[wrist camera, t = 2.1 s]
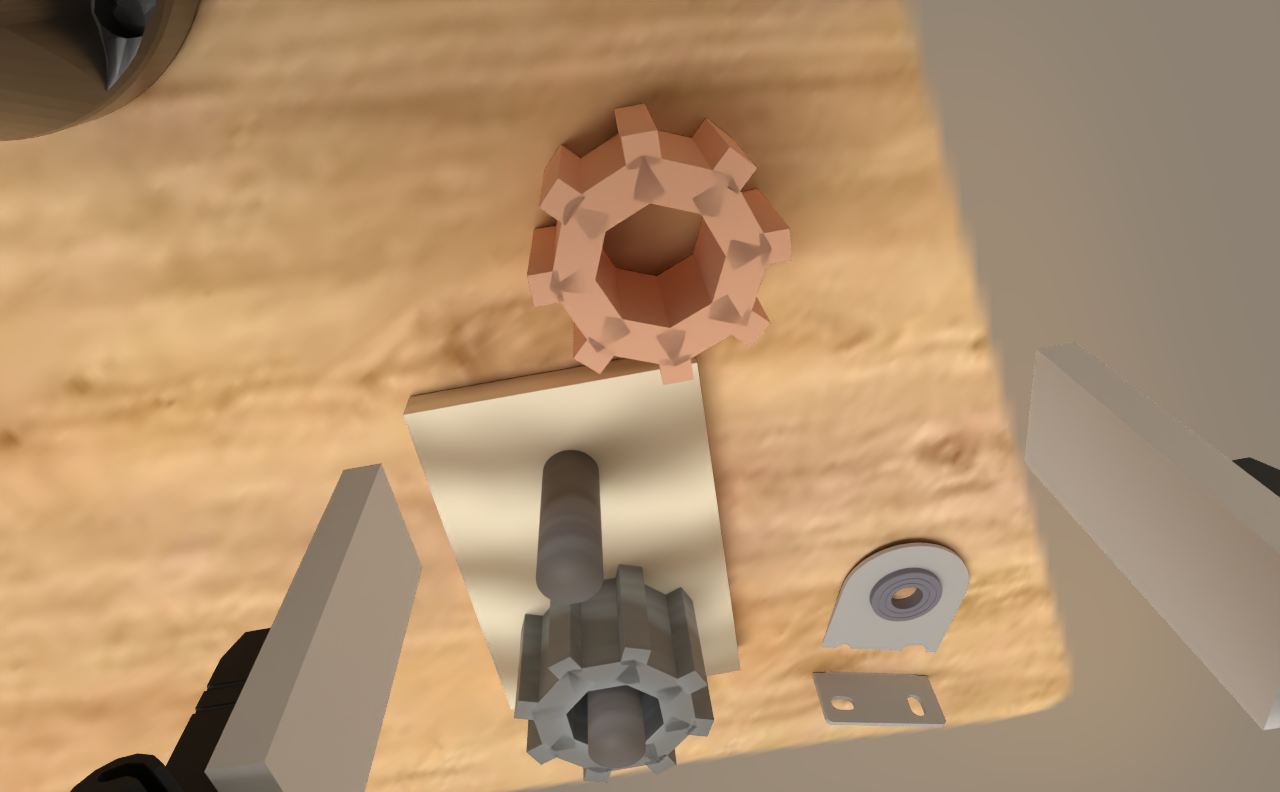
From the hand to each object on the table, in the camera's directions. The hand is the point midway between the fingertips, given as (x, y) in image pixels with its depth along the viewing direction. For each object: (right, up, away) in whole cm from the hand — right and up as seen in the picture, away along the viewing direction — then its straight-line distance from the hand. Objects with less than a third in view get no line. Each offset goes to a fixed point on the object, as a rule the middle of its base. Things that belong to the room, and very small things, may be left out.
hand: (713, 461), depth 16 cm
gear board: (-4, -5, +21) cm, 22 cm away
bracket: (+11, -10, +26) cm, 30 cm away
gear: (-1, +8, +14) cm, 16 cm away
